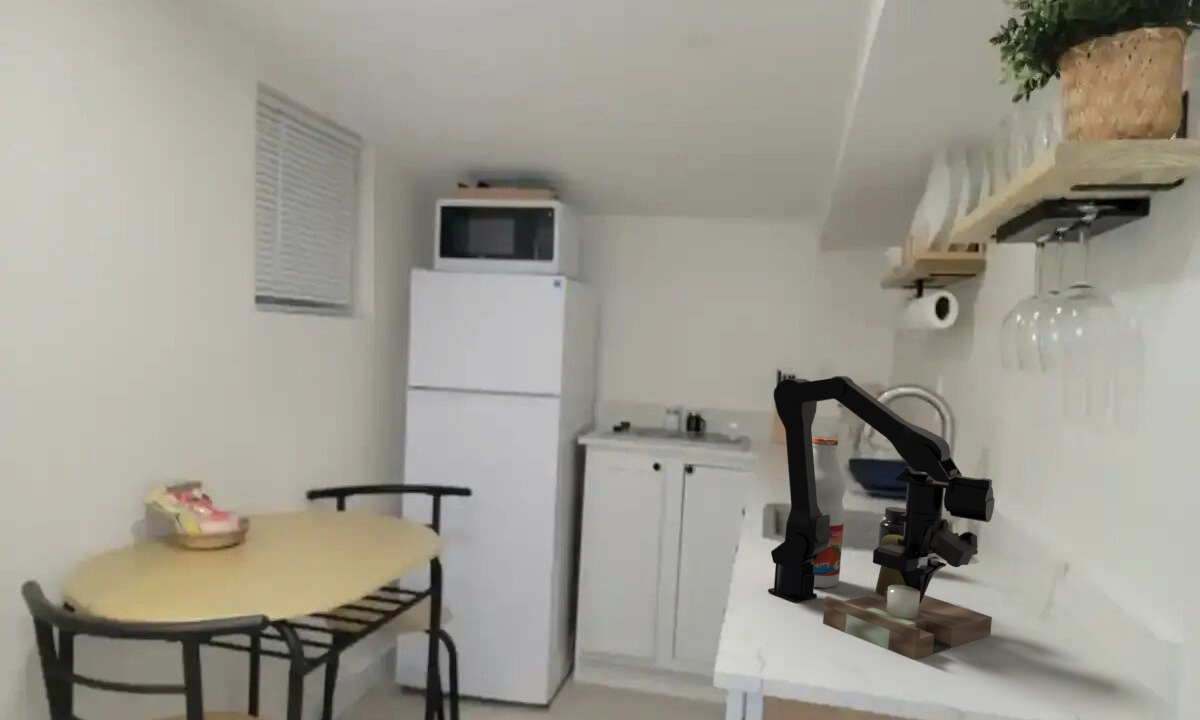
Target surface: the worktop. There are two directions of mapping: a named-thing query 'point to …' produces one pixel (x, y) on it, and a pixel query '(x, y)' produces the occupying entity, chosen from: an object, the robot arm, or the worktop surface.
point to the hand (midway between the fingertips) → (916, 603)
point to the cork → (889, 569)
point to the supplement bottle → (891, 523)
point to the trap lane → (907, 624)
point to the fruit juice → (829, 509)
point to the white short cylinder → (903, 601)
